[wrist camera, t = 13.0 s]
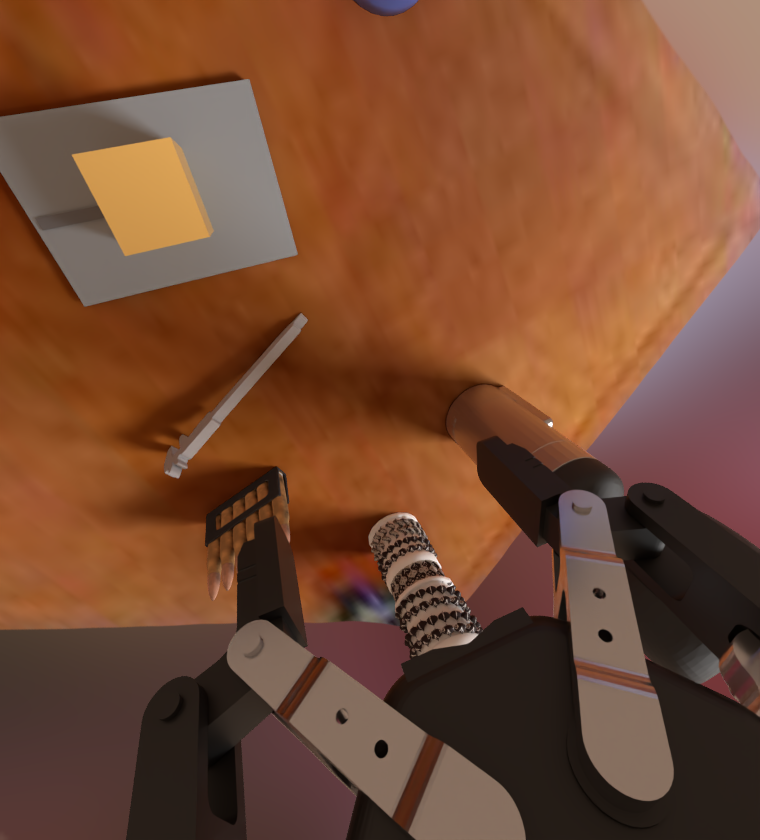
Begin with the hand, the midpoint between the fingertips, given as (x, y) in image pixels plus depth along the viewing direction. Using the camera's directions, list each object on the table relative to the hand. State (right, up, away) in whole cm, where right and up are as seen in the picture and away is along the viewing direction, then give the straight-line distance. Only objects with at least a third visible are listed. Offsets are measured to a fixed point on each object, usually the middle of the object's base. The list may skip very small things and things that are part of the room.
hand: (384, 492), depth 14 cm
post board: (-17, +20, +15) cm, 31 cm away
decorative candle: (+2, -15, +44) cm, 47 cm away
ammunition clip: (-17, -6, +32) cm, 37 cm away
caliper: (-15, +7, +25) cm, 30 cm away
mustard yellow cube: (-17, +20, +14) cm, 30 cm away
